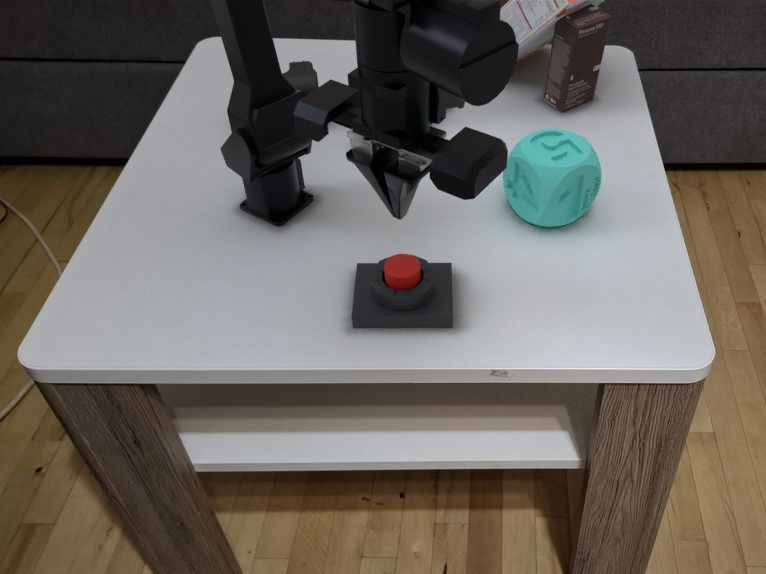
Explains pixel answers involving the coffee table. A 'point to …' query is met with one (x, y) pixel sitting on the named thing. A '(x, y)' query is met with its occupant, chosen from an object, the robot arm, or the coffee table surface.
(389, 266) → the button
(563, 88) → the box
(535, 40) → the cracker box
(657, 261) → the coffee table surface
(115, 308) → the coffee table surface
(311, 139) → the robot arm
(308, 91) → the dark grey block
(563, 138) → the decorative dice
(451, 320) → the control block
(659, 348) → the coffee table surface
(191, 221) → the coffee table surface
